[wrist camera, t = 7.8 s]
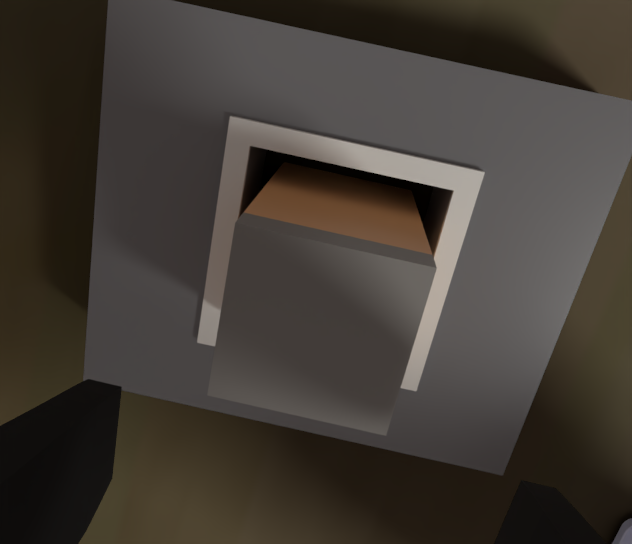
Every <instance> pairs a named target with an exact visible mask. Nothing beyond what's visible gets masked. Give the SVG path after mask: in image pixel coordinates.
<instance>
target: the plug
mask: <svg viewBox="0 0 632 544" xmlns="http://www.w3.org/2000/svg"><path fill="white" fill-rule="evenodd" d="M436 269H437V267H436V264H435V261H434V258H433V255H432V252H431V249H430V245H429V242H428V239H427V236H426V233H425V230H424V227H423V224H422V221H421V218H420V215H419V212H418V209H417V206H416V203H415V200H414V197H413V194H412V191H411V190H407V189H403V188H399V187H394V186H390V185H385V184H381V183H376V182H372V181H367V180H363V179H358V178H354V177H349V176H345V175H340V174H336V173H331V172H327V171H322V170H318V169H313V168H309V167H305V166H300V165H296V164H291V163H287V162H284V163H283V164H282V165H281V166H280V168H279V169H278V170H277V171H276V173H275V174H274V175H273V176H272V178H271V179H270V180H269V181H268V183H267V184H266V185H265V186H264V188H263V189H262V190H261V191H260V193H259V194H258V195H257V196H256V198H255V199H254V200H253V201H252V202H251V204H250V205H249V206H248V207H247V209H246V210H245V211H244V212H243V214H242V215H241V216H240V217H239V219H238V220H237V221H236V222H235V227H234V233H233V239H232V245H231V252H230V258H229V264H228V270H227V276H226V282H225V289H224V295H223V301H222V307H221V313H220V319H219V326H218V332H217V338H216V344H215V350H214V357H213V363H212V369H211V375H210V381H209V387H208V394H207V395H208V396H212V397H217V398H221V399H226V400H230V401H234V402H239V403H243V404H248V405H252V406H256V407H261V408H265V409H270V410H274V411H279V412H283V413H287V414H292V415H296V416H301V417H305V418H310V419H314V420H318V421H323V422H327V423H332V424H336V425H340V426H345V427H349V428H354V429H358V430H363V431H367V432H371V433H376V434H380V435H385V436H386V434H387V431H388V428H389V424H390V421H391V418H392V414H393V411H394V408H395V405H396V401H397V398H398V395H399V391H400V388H401V385H402V381H403V378H404V375H405V372H406V368H407V365H408V362H409V358H410V355H411V352H412V349H413V345H414V342H415V339H416V335H417V332H418V329H419V325H420V322H421V319H422V316H423V312H424V309H425V306H426V302H427V299H428V296H429V292H430V289H431V286H432V283H433V279H434V276H435V273H436Z"/></svg>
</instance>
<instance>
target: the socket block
mask: <svg viewBox="0 0 632 544" xmlns="http://www.w3.org/2000/svg"><path fill="white" fill-rule="evenodd" d="M267 150H272V151H276V152H281V153H285V154H290V155H294V156H299V157H303V158H308V159H313V160H317V161H322V162H326V163H331V164H335V165H340V166H344V167H349V168H353V169H358V170H362V171H367V172H372V173H376V174H381V175H385V176H390V177H394V178H399V179H403V180H408V181H412V182H417V183H421V184H426V185H430V186H434V187H433V191H432V194H431V198H430V201H429V205H428V208H427V212H426V216H425V219H424V223H423V227H424V230H425V233H426V236H427V239H428V242H429V245H430V249H431V252H432V255H433V258H434V261H435V264H436V267H437V269H436V273H435V276H434V279H433V283H432V286H431V289H430V292H429V296H428V299H427V302H426V306H425V309H424V312H423V316H422V319H421V322H420V325H419V329H418V332H417V335H416V339H415V342H414V345H413V349H412V352H411V355H410V358H409V362H408V365H407V368H406V372H405V375H404V378H403V381H402V385H401V388H400V391H399V395H398V398H397V401H396V405H395V408H394V411H393V414H392V418H391V421H390V424H389V428H388V431H387V434H386V436H385V435H380V434H376V433H371V432H367V431H363V430H358V429H354V428H349V427H345V426H340V425H336V424H332V423H327V422H323V421H318V420H314V419H310V418H305V417H301V416H296V415H292V414H287V413H283V412H279V411H274V410H270V409H265V408H261V407H256V406H252V405H248V404H243V403H239V402H234V401H230V400H226V399H221V398H217V397H212V396H208V395H207V394H208V387H209V381H210V375H211V369H212V363H213V357H214V350H215V344H216V338H217V332H218V326H219V319H220V313H221V307H222V301H223V295H224V289H225V282H226V276H227V270H228V264H229V258H230V252H231V245H232V239H233V233H234V227H235V222H236V221H237V220H238V219H239V217H240V216H241V215H242V214H243V212H244V211H245V210H246V209H247V207H248V206H249V205H250V204H251V202H252V201H253V200H254V199H255V198H256V196H257V195H258V194H259V192H260V187H261V181H262V175H263V169H264V163H265V157H266V152H267ZM631 155H632V101H630V100H626V99H621V98H617V97H612V96H608V95H603V94H598V93H594V92H589V91H585V90H580V89H576V88H571V87H566V86H562V85H557V84H553V83H548V82H544V81H539V80H534V79H530V78H525V77H521V76H516V75H512V74H507V73H502V72H498V71H493V70H489V69H484V68H480V67H475V66H470V65H466V64H461V63H457V62H452V61H448V60H443V59H438V58H434V57H429V56H425V55H420V54H416V53H411V52H406V51H402V50H397V49H393V48H388V47H384V46H379V45H374V44H370V43H365V42H361V41H356V40H352V39H347V38H342V37H338V36H333V35H329V34H324V33H320V32H315V31H310V30H306V29H301V28H297V27H292V26H288V25H283V24H278V23H274V22H269V21H265V20H260V19H256V18H251V17H246V16H242V15H237V14H233V13H228V12H224V11H219V10H214V9H210V8H205V7H201V6H196V5H192V4H187V3H182V2H178V1H173V0H108V10H107V25H106V40H105V56H104V71H103V86H102V102H101V117H100V132H99V148H98V163H97V178H96V194H95V209H94V224H93V239H92V255H91V270H90V285H89V301H88V316H87V331H86V347H85V362H84V377H83V381H85V380H87V379H91V380H95V381H100V382H104V383H108V384H112V385H117V386H121V387H122V389H121V390H123V391H127V392H131V393H136V394H140V395H145V396H149V397H154V398H158V399H163V400H167V401H172V402H176V403H181V404H185V405H190V406H194V407H198V408H203V409H207V410H212V411H216V412H221V413H225V414H230V415H234V416H239V417H243V418H248V419H252V420H257V421H261V422H265V423H270V424H274V425H279V426H283V427H288V428H292V429H297V430H301V431H306V432H310V433H315V434H319V435H324V436H328V437H332V438H337V439H341V440H346V441H350V442H355V443H359V444H364V445H368V446H373V447H377V448H382V449H386V450H391V451H395V452H399V453H404V454H408V455H413V456H417V457H422V458H426V459H431V460H435V461H440V462H444V463H449V464H453V465H458V466H462V467H466V468H471V469H475V470H480V471H484V472H489V473H493V474H498V475H502V476H503V474H504V471H505V469H506V466H507V464H508V461H509V459H510V456H511V454H512V451H513V449H514V446H515V444H516V442H517V439H518V437H519V434H520V432H521V429H522V427H523V424H524V422H525V419H526V417H527V414H528V412H529V409H530V407H531V404H532V402H533V399H534V397H535V394H536V392H537V389H538V387H539V384H540V382H541V379H542V377H543V374H544V372H545V369H546V367H547V364H548V362H549V359H550V357H551V354H552V352H553V349H554V347H555V344H556V342H557V340H558V337H559V335H560V332H561V330H562V327H563V325H564V322H565V320H566V317H567V315H568V312H569V310H570V307H571V305H572V302H573V300H574V297H575V295H576V292H577V290H578V287H579V285H580V282H581V280H582V277H583V275H584V272H585V270H586V267H587V265H588V262H589V260H590V257H591V255H592V252H593V250H594V247H595V245H596V242H597V240H598V237H599V235H600V233H601V230H602V228H603V225H604V223H605V220H606V218H607V215H608V213H609V210H610V208H611V205H612V203H613V200H614V198H615V195H616V193H617V190H618V188H619V185H620V183H621V180H622V178H623V175H624V173H625V170H626V168H627V165H628V163H629V160H630V158H631Z"/></svg>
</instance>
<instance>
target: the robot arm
mask: <svg viewBox="0 0 632 544" xmlns="http://www.w3.org/2000/svg"><path fill="white" fill-rule="evenodd" d="M121 389H122V387H121V386H117V385H112V384H108V383H104V382H100V381H95V380H91V379H87V380H85V381H83V382H81V383H79V384H77V385H75V386H73V387H72V388H70V389H68V390H66V391H64V392H62V393H61V394H59V395H57V396H55V397H53V398H52V399H50V400H48V401H46V402H44V403H42V404H41V405H39V406H37V407H35V408H33V409H31V410H30V411H28V412H26V413H24V414H22V415H20V416H18V417H16V418H15V419H13V420H11V421H9V422H7V423H5V424H3V425H1V426H0V544H78V543H79V541H80V540H81V538H82V537H83V535H84V533H85V532H86V530H87V528H88V526H89V524H90V522H91V520H92V518H93V516H94V514H95V512H96V510H97V508H98V506H99V504H100V502H101V500H102V498H103V496H104V494H105V492H106V490H107V488H108V486H109V484H110V481H111V479H112V474H113V464H114V455H115V446H116V436H117V427H118V417H119V408H120V398H121ZM494 544H606V543H605V542H604V541H603V539H602V538H601V537H600V536H599V535H598V534H597V533H596V532H595V530H594V529H593V528H592V527H591V526H590V525H589V524H588V523H587V521H586V520H585V519H584V518H583V517H582V516H581V515H580V514H579V512H578V511H577V510H576V509H575V508H574V507H573V506H572V505H571V504H570V503H569V502H568V501H567V499H566V498H565V497H564V496H563V495H562V494H561V493H560V492H559V491H558V490H557V489H556V488H552V487H548V486H544V485H539V484H535V483H531V482H527V481H522V480H521V482H520V485H519V487H518V489H517V492H516V494H515V496H514V499H513V501H512V503H511V506H510V508H509V510H508V513H507V515H506V517H505V520H504V522H503V524H502V527H501V529H500V531H499V534H498V536H497V538H496V541H495V543H494ZM612 544H632V518H630V519H628V520H626V521H625V522H624V523H623V524H622V525H621V527H620V529H619V531H618V533H617V535H616V537H615V539H614V541H613V543H612Z"/></svg>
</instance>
